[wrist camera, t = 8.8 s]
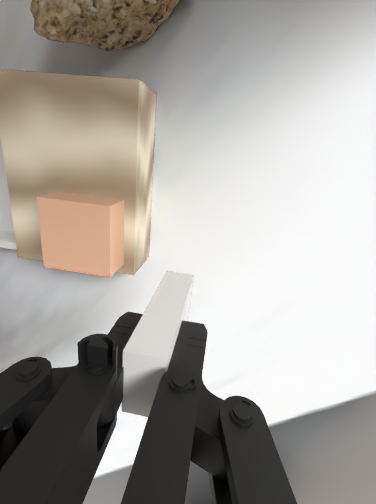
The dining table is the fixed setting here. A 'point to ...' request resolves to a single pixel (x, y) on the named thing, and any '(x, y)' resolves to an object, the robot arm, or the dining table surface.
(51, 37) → the rock
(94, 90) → the board
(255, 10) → the dining table surface
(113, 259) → the tile
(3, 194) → the box
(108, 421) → the robot arm
